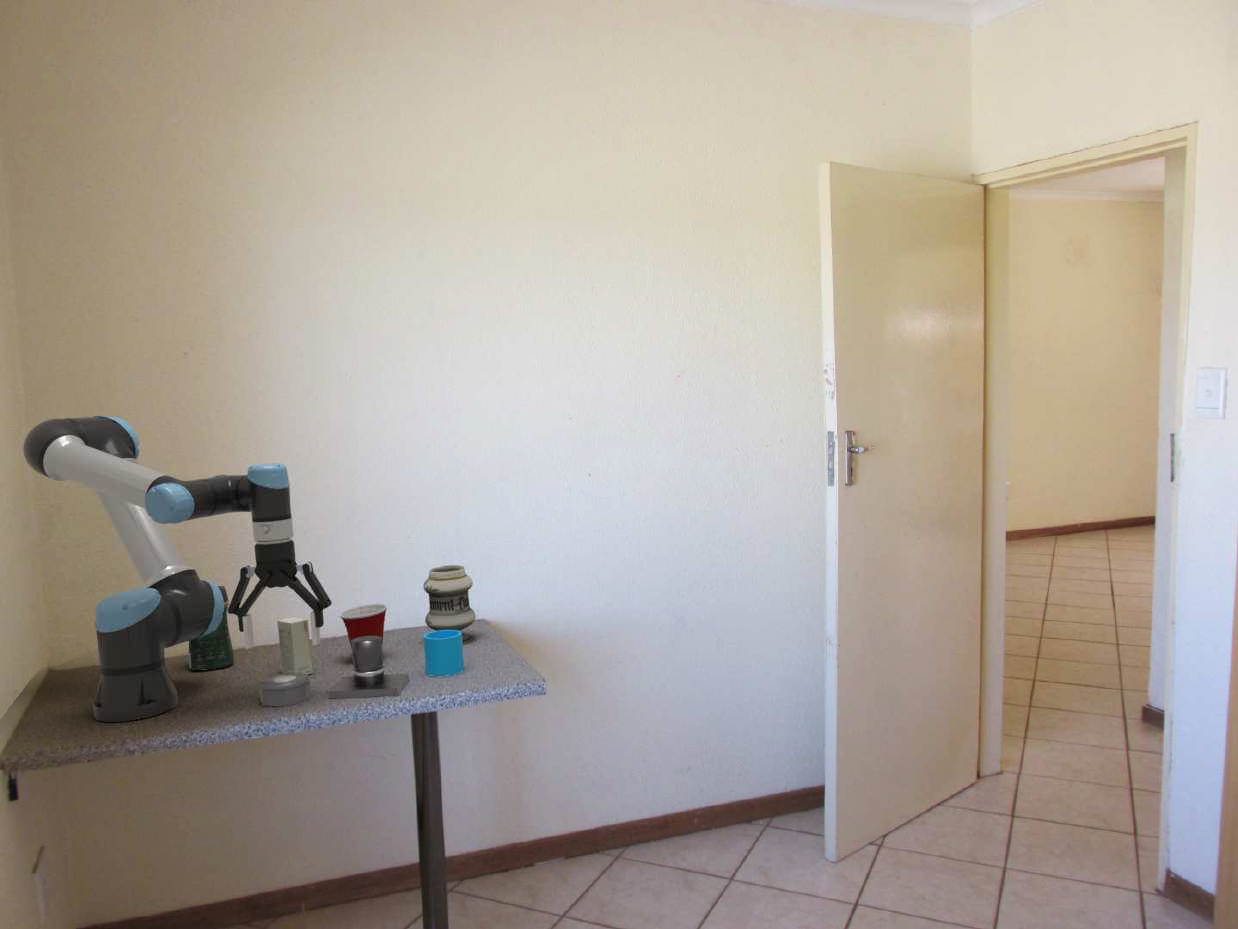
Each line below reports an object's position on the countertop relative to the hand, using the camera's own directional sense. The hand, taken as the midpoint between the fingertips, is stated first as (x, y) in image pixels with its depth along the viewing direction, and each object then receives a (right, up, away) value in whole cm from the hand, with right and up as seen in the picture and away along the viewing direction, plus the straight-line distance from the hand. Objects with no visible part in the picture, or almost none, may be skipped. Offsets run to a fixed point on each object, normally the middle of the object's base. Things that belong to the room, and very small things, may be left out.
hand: (283, 645), depth 196 cm
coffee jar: (-26, -10, +28) cm, 40 cm away
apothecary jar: (+27, -7, +41) cm, 50 cm away
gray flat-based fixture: (+16, -10, +5) cm, 20 cm away
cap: (0, -11, +1) cm, 11 cm away
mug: (+29, -9, +17) cm, 35 cm away
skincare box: (-3, -10, +19) cm, 22 cm away
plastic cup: (+10, -9, +28) cm, 31 cm away
